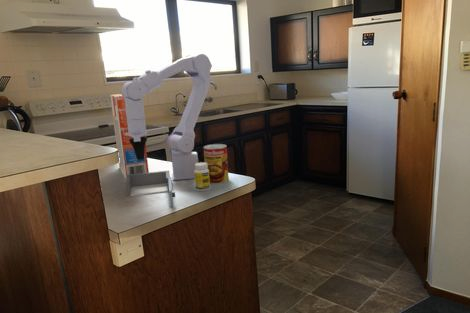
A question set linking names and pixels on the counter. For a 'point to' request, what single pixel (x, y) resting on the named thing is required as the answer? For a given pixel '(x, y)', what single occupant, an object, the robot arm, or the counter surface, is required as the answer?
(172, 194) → the door
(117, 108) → the pasta box
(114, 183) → the counter surface
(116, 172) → the counter surface
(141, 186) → the housing
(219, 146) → the canned food
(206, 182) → the supplement bottle
